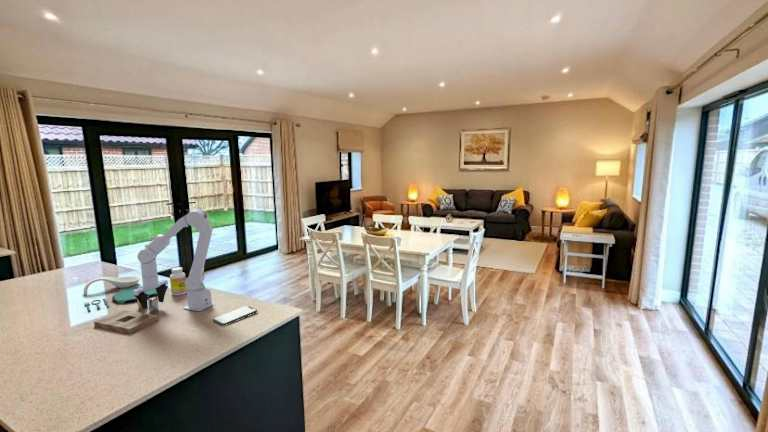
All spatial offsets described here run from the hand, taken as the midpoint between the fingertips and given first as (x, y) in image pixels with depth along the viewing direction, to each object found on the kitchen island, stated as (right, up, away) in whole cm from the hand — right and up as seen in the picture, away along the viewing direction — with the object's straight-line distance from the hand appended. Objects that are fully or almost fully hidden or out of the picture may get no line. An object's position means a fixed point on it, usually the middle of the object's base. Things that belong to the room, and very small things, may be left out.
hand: (153, 305), depth 158 cm
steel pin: (0, -3, +1) cm, 3 cm away
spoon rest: (-40, +1, +30) cm, 50 cm away
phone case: (+38, -4, -5) cm, 39 cm away
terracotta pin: (-7, -3, +4) cm, 9 cm away
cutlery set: (-24, -1, +16) cm, 29 cm away
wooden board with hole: (-4, -5, -11) cm, 12 cm away
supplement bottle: (-1, 0, +22) cm, 22 cm away
